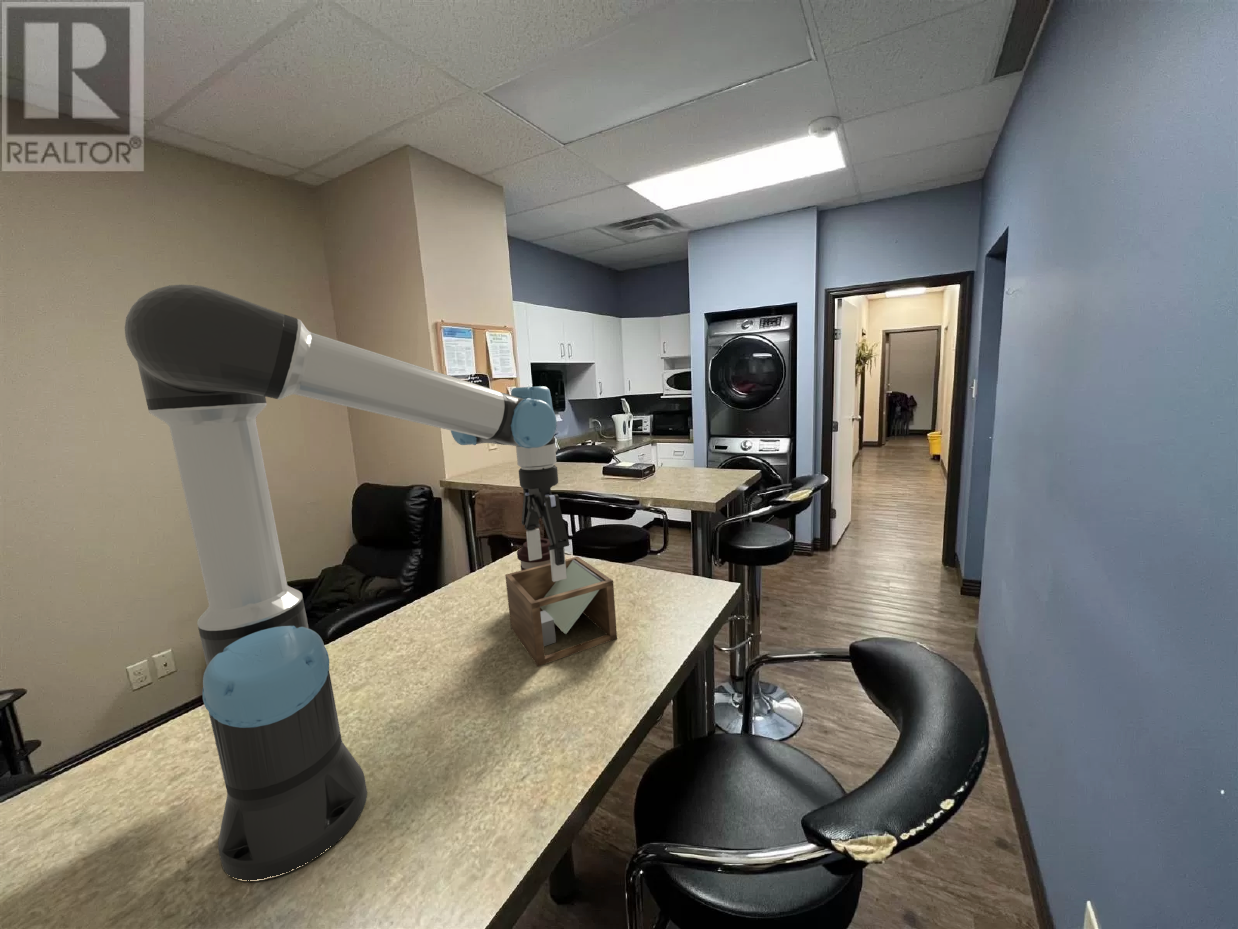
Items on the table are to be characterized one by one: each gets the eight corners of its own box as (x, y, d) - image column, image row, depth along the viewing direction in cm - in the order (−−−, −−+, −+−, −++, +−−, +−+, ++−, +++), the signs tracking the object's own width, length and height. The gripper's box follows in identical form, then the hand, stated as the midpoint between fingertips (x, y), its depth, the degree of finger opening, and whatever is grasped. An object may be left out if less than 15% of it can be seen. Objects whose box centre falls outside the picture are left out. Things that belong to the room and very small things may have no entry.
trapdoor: (566, 634, 93) (562, 632, 93) (540, 607, 106) (537, 604, 105) (605, 582, 96) (602, 579, 96) (576, 561, 109) (573, 558, 108)
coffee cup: (571, 597, 118) (566, 538, 115) (544, 614, 110) (539, 552, 107) (541, 589, 123) (535, 534, 121) (513, 606, 115) (507, 546, 113)
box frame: (537, 666, 90) (531, 604, 87) (511, 628, 104) (505, 574, 102) (617, 638, 98) (613, 580, 95) (581, 607, 112) (577, 556, 110)
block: (556, 642, 98) (532, 650, 95) (547, 632, 102) (524, 639, 99) (553, 619, 97) (530, 627, 94) (544, 610, 101) (522, 617, 99)
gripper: (581, 471, 85) (590, 584, 88) (534, 457, 106) (542, 548, 110) (541, 477, 81) (552, 595, 85) (501, 461, 103) (510, 555, 106)
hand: (546, 569), depth 97 cm, fingers open, 13 cm apart
